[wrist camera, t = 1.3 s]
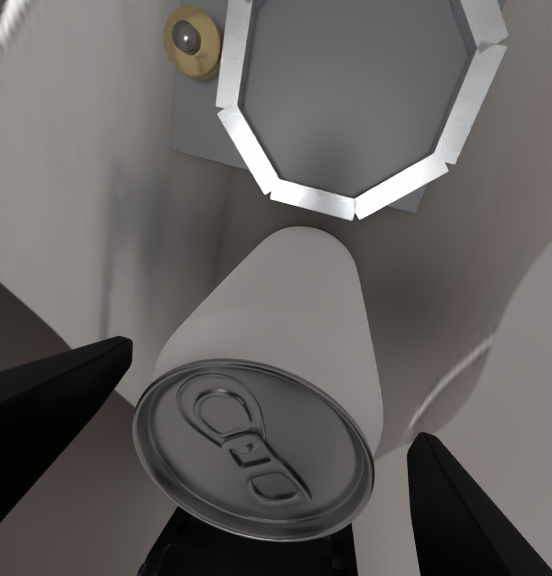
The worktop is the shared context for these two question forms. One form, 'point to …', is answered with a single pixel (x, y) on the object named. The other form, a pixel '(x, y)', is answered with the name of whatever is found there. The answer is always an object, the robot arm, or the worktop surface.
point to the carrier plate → (333, 90)
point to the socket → (445, 150)
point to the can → (269, 397)
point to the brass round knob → (194, 43)
